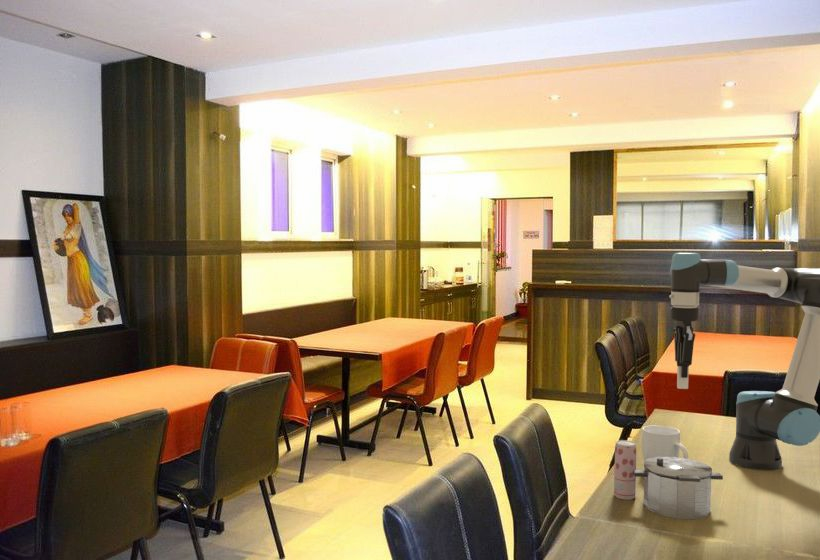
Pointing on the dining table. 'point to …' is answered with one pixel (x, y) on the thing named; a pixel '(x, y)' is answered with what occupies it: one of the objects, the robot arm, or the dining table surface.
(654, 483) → the pot
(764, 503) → the dining table surface
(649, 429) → the mug
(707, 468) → the lid
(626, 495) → the beverage can
